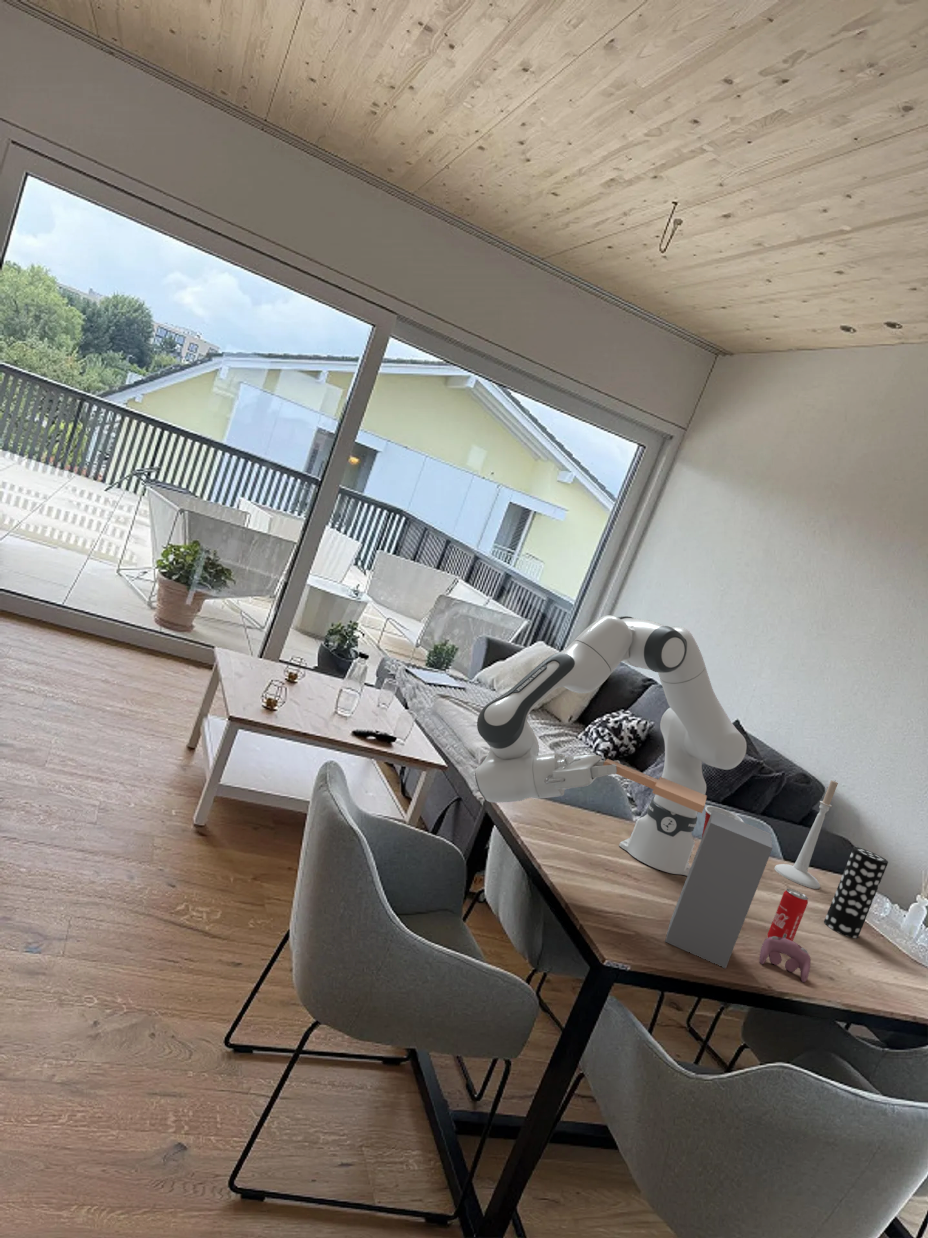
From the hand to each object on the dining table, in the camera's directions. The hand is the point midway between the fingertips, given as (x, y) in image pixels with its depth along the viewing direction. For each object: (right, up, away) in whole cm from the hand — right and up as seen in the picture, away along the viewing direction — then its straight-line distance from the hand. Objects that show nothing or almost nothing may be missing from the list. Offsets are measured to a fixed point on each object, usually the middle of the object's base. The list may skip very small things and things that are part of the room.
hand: (618, 766), depth 194 cm
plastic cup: (+36, -35, +70) cm, 86 cm away
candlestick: (+63, -44, +77) cm, 108 cm away
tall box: (+15, -35, -4) cm, 38 cm away
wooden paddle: (+7, -4, -2) cm, 8 cm away
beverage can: (+36, -41, +13) cm, 56 cm away
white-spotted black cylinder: (+61, -47, +41) cm, 87 cm away
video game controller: (+32, -41, -2) cm, 52 cm away
